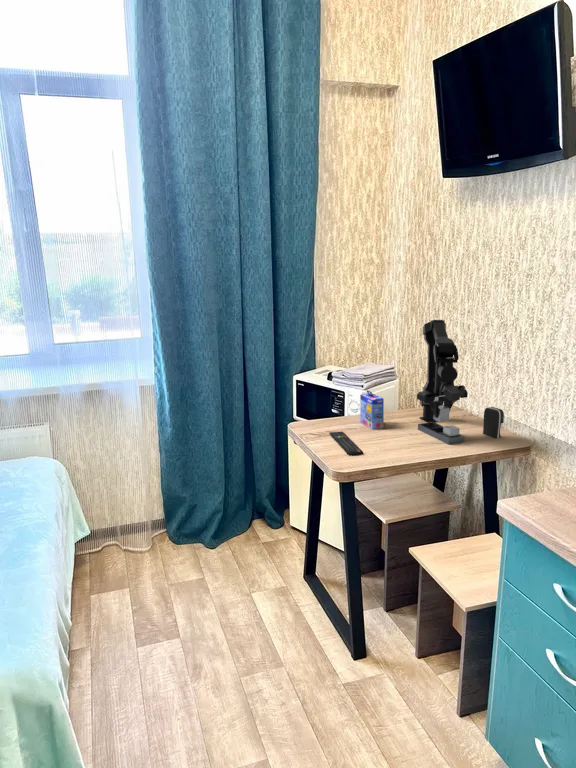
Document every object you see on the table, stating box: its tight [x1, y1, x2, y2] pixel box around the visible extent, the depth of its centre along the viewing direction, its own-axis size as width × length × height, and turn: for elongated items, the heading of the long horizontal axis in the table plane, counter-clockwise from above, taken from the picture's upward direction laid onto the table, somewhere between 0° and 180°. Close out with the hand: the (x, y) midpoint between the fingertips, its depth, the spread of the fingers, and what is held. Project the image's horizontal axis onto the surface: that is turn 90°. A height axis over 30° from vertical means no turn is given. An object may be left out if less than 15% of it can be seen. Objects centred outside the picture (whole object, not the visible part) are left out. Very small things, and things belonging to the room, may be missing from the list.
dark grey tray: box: [417, 421, 466, 446], centre depth 215 cm, size 19×7×3 cm, turn 22°
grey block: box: [433, 404, 451, 423], centre depth 213 cm, size 4×4×5 cm
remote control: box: [329, 431, 364, 457], centre depth 209 cm, size 5×24×1 cm, turn 12°
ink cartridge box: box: [359, 389, 385, 430], centre depth 229 cm, size 10×6×14 cm, turn 23°
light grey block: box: [443, 424, 460, 438], centre depth 209 cm, size 4×4×5 cm
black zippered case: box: [482, 406, 505, 439], centre depth 213 cm, size 7×4×11 cm, turn 30°
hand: (441, 417), depth 213 cm, fingers closed on grey block, 4 cm apart
